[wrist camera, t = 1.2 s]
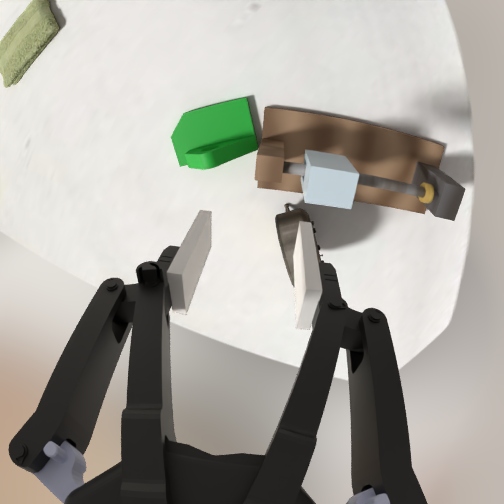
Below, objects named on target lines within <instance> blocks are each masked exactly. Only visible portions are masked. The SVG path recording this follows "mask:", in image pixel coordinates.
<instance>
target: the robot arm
mask: <svg viewBox="0 0 504 504" xmlns="http://www.w3.org/2000/svg"><path fill="white" fill-rule="evenodd" d="M210 249H211V211H203V210H200V211H199V213H198V215H197V217H196V219H195V220H194V222H193V224H192V226H191V228H190V229H189V231H188V233H187V235H186V237H185V239H184V240H183V242H182V244H181V246H180V247H178V246H169V247H167V248H166V249H165V250H163V252H162V254H161V255H160V257H159V259H158V261H157V262H153V261H149V262H144V263H142V264H140V265H139V266H138V267H137V269H136V273H137V278H138V283H137V284H130V285H124V282H123V281H122V280H121V279H119V278H110V279H107V280H105V281H104V282H103V283H102V284H101V285H100V287H99V289H98V290H97V292H96V294H95V295H94V297H93V299H92V300H91V302H90V304H89V305H88V307H87V309H86V311H85V312H84V314H83V316H82V317H81V319H80V321H79V323H78V325H77V326H76V328H75V330H74V332H73V334H72V336H71V337H70V340H69V341H68V343H67V345H66V347H65V349H64V351H63V353H62V355H61V357H60V359H59V361H58V363H57V365H56V367H55V369H54V371H53V373H52V376H51V378H50V380H49V382H48V384H47V386H46V388H45V391H44V393H43V395H42V398H41V400H40V403H39V405H38V407H37V410H36V411H35V413H34V414H33V415H32V416H31V417H30V418H29V420H28V421H27V422H26V423H25V424H24V426H23V427H22V428H21V429H20V431H19V432H18V433H17V434H16V435H15V436H14V438H13V439H12V440H11V442H10V444H9V455H10V457H11V459H12V461H13V462H14V463H15V464H16V465H17V466H19V467H21V468H23V469H25V470H27V471H29V472H31V473H33V474H34V475H35V476H36V477H37V478H38V479H39V480H40V481H41V482H42V483H43V484H44V485H45V486H46V487H47V488H48V489H49V490H50V491H51V492H52V493H53V494H54V495H55V496H56V497H57V498H58V499H59V500H60V501H62V502H63V503H64V504H316V503H315V502H314V501H313V500H312V499H311V497H310V496H309V495H308V494H307V493H306V491H305V490H304V489H303V488H302V486H301V485H302V482H303V480H304V477H305V475H306V472H307V469H308V466H309V464H310V461H311V458H312V455H313V452H314V449H315V446H316V441H317V438H316V435H317V431H318V428H319V425H320V422H321V418H322V415H323V411H324V408H325V404H326V401H327V397H328V394H329V390H330V386H331V383H332V379H333V375H334V371H335V367H336V362H337V358H338V354H339V349H340V347H341V348H344V349H346V353H347V364H348V377H349V391H350V409H351V410H350V412H351V444H352V445H351V457H352V460H351V461H352V462H351V467H352V468H351V476H352V488H353V494H354V496H352V497H351V498H350V499H349V500H348V502H347V503H346V504H427V501H426V499H425V496H424V494H423V492H422V489H421V487H420V485H419V482H418V480H417V478H416V475H415V474H414V471H413V469H412V464H411V452H410V443H409V433H408V425H407V417H406V410H405V404H404V398H403V393H402V387H401V381H400V376H399V370H398V365H397V361H396V356H395V351H394V347H393V343H392V338H391V334H390V330H389V326H388V322H387V318H386V316H385V315H384V314H383V313H382V312H381V311H380V310H378V309H375V308H368V309H365V310H364V312H363V313H361V312H358V311H355V310H352V309H350V308H349V307H348V305H347V303H346V301H345V300H343V299H342V297H341V292H340V288H339V283H338V278H337V274H336V270H335V268H334V267H333V266H332V264H331V263H322V262H318V259H317V253H316V247H315V241H314V235H313V230H312V224H311V222H303V221H300V222H299V228H298V233H297V239H296V244H295V249H294V255H293V261H294V286H295V320H296V329H307V330H310V328H311V325H312V327H313V330H312V333H311V336H310V339H309V342H308V345H307V348H306V351H305V354H304V357H303V360H302V363H301V366H300V368H299V371H298V374H297V377H296V379H295V382H294V385H293V388H292V390H291V393H290V396H289V398H288V401H287V403H286V406H285V408H284V411H283V414H282V416H281V418H280V421H279V424H278V426H277V428H276V431H275V433H274V435H273V438H272V440H271V442H270V445H269V447H268V449H267V451H266V454H265V455H254V454H244V453H240V454H229V455H217V456H215V455H211V454H208V453H206V452H204V451H201V450H199V449H197V448H194V447H192V446H190V445H187V444H182V443H177V442H176V437H175V433H174V424H173V409H172V393H171V366H170V315H169V311H170V308H171V306H172V312H173V313H178V314H184V315H186V314H187V312H188V309H189V306H190V303H191V300H192V298H193V295H194V292H195V289H196V286H197V284H198V281H199V278H200V276H201V273H202V270H203V267H204V265H205V262H206V259H207V257H208V254H209V251H210ZM132 325H133V327H132ZM131 328H132V336H131V346H130V357H129V371H128V387H127V406H126V409H124V410H123V412H122V418H121V457H122V458H121V459H122V461H121V462H119V463H118V464H116V465H115V466H113V467H112V468H110V469H108V470H107V471H105V472H104V473H102V474H100V475H99V476H97V477H95V478H94V479H92V480H90V481H88V482H87V483H85V484H84V482H83V473H84V472H85V471H86V462H85V459H84V457H83V454H84V453H85V451H86V449H87V447H88V445H89V442H90V440H91V437H92V434H93V430H94V428H95V424H96V421H97V418H98V415H99V412H100V409H101V406H102V403H103V400H104V398H105V394H106V392H107V389H108V386H109V383H110V380H111V378H112V375H113V373H114V370H115V367H116V365H117V362H118V360H119V357H120V355H121V352H122V349H123V347H124V344H125V342H126V339H127V337H128V335H129V332H130V330H131Z"/></svg>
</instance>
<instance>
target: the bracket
mask: <svg viewBox="0 0 504 504" xmlns="http://www.w3.org/2000/svg"><path fill="white" fill-rule="evenodd" d="M171 139H172V142H173V145H174V149H175V152H176V155H177V158H178V161H179V165H180V167H181V166H185V165H188V167H189V168H196V169H210V168H214V167H216V166H219V165H221V164H223V163H226V162H228V161H231V160H233V159H235V158H238V157H240V156H243V155H245V154H248V153H250V152H253V151H256V150H258V143H257V139H256V134H255V130H254V126H253V122H252V117H251V113H250V109H249V105H248V100H247V97H245V98H241V99H236V100H232V101H228V102H223V103H219V104H215V105H211V106H208V107H204V108H200V109H197V110H193V111H190V112H186V113H184V114H183V115H182V117H181V119H180V121H179V123H178V125H177V126H176V128H175V130H174V132H173V134H172V136H171Z"/></svg>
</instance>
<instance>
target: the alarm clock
mask: <svg viewBox="0 0 504 504" xmlns="http://www.w3.org/2000/svg"><path fill="white" fill-rule="evenodd" d="M288 207H289V205H288V204H285V208H286V212H285V213H282V214H278V215H276V218H275V222H276V228H277V234H278V239H279V243H280V247H281V250H282V254H283V258H284V262H285V265H286V269H287V272H288V275H289V277H290V280H291V282H292V285H293V287H294V288H295V286H294V261H293V255H294V249H295V244H296V239H297V233H298V228H299V222H300V221H303V222H311V221H310V218H309V215H308V213H307V212H306V211H305V210H303V209H296V210H292V211H290V210H289V208H288ZM311 224H312V230H313V235H314V233H316V230H315V228H313V225H314V222H313V221H312V222H311ZM314 241H315V247H316V253H317V259H318V262H322V263H324V261H323V260H322V261H321V258H320V256H323V255H320V254H319V250H320V246H319V245H317V242H316V239H315V235H314Z"/></svg>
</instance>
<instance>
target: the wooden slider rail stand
mask: <svg viewBox="0 0 504 504" xmlns="http://www.w3.org/2000/svg"><path fill="white" fill-rule="evenodd" d="M443 149H444V146H442V145H440V144H437V143H434V142H431V141H428V140H425V139H422V138H418V137H415V136H412V135H408V134H405V133H401V132H398V131H394V130H391V129H387V128H383V127H379V126H375V125H371V124H366V123H362V122H357V121H353V120H348V119H343V118H338V117H332V116H327V115H321V114H315V113H309V112H302V111H294V110H287V109H278V108H269V107H265V110H264V121H263V132H262V140H261V143H260V146H259V150H258V153H257V159H256V171H255V180H258V187H257V188H265V189H274V190H282V191H290V192H298V193H303V190H302V184H301V175H302V176H305V170H306V164H303V161H304V154H305V150H312V151H319V152H325V153H331V154H337V155H342V156H346V158H347V159H348V160H349V161H350V163H351V164H352V165H353V166H354V168H355V169H356V170H357V172H358V173H359V178H358V183H357V187H356V191H355V195H354V200H353V201H358V202H364V203H370V204H376V205H381V206H387V207H392V208H397V209H402V210H407V211H412V212H417V213H422V214H425V211H426V208H428V209H429V210H430V212H431V213H432V214H433V215H434V216H435V217H440V218H444V219H448V220H453V221H454V220H455V217H456V215H457V212H458V209H459V206H460V204H461V201H462V198H463V195H464V192H465V188H463V187H462V186H461V185H459V184H458V183H457V182H456V181H454V180H453V179H452V178H450V177H449V176H448V175H446V174H445V173H444V172H442V171H441V170H440V169H439V165H440V161H441V157H442V153H443Z"/></svg>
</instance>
